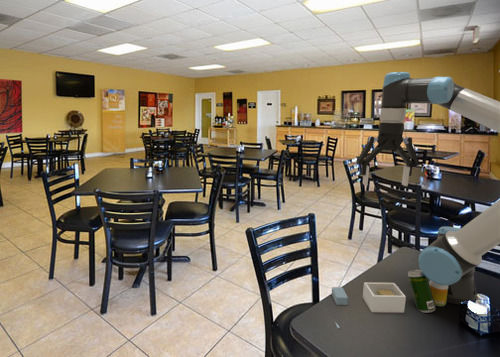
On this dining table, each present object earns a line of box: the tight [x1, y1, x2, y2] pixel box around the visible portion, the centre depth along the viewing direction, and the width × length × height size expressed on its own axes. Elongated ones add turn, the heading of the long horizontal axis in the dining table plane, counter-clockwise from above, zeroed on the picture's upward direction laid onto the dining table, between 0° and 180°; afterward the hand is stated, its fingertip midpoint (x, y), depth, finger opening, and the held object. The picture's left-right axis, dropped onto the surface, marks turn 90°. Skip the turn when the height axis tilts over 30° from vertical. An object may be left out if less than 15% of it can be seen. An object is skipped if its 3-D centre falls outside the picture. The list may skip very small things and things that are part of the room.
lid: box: [331, 286, 349, 330], centre depth 98 cm, size 17×9×4 cm, turn 0°
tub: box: [362, 282, 407, 314], centre depth 100 cm, size 10×8×6 cm
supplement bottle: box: [429, 280, 448, 307], centre depth 102 cm, size 5×5×10 cm
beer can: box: [407, 268, 437, 314], centre depth 99 cm, size 5×5×12 cm
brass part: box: [377, 289, 396, 296], centre depth 100 cm, size 4×4×4 cm
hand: (384, 184), depth 107 cm, fingers open, 13 cm apart
